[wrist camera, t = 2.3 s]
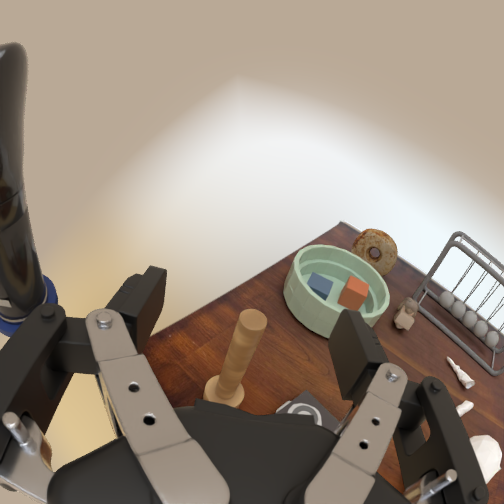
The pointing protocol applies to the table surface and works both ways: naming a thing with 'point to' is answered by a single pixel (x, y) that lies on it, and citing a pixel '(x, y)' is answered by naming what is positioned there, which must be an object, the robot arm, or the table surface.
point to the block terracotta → (353, 293)
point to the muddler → (237, 360)
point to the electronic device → (310, 410)
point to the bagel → (382, 243)
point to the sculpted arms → (466, 382)
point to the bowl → (338, 271)
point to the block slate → (320, 285)
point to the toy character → (406, 313)
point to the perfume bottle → (487, 455)
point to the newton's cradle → (459, 307)
